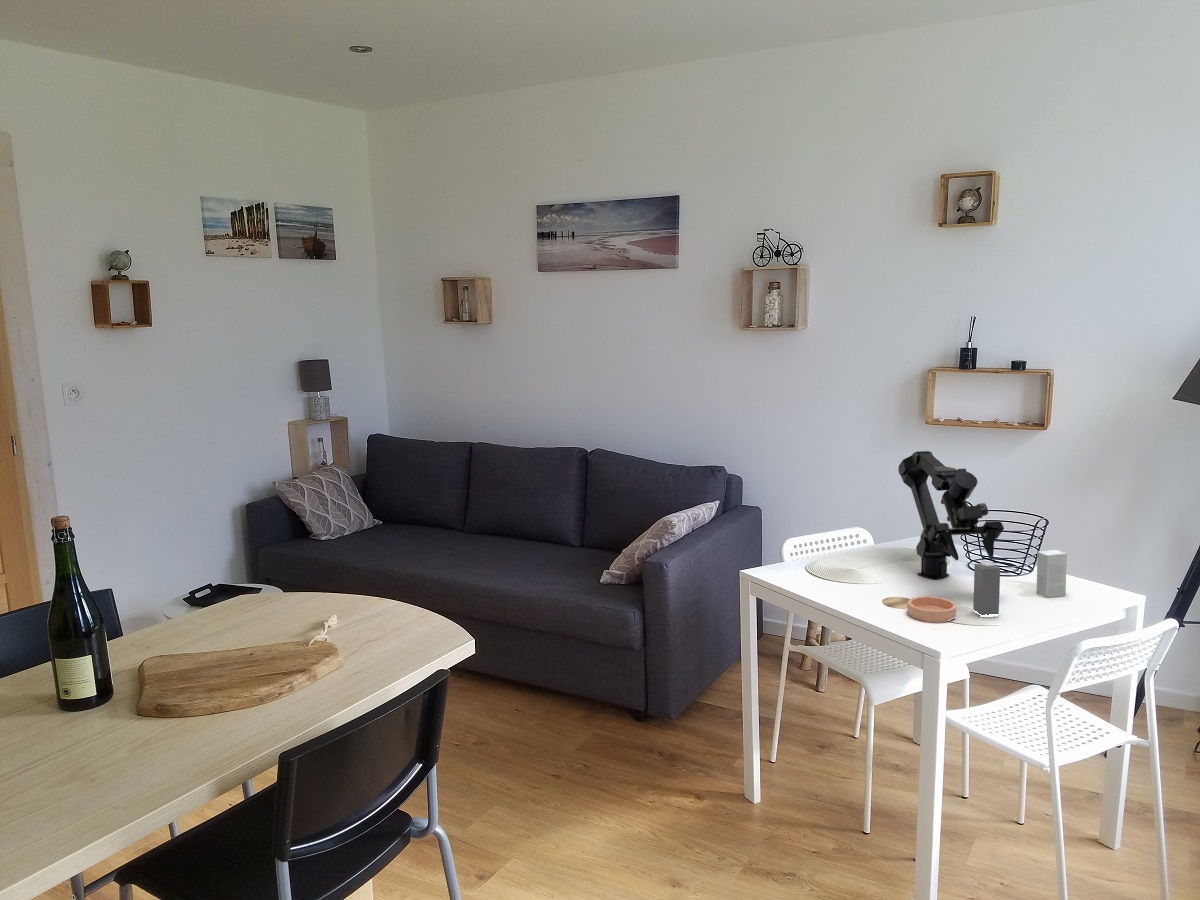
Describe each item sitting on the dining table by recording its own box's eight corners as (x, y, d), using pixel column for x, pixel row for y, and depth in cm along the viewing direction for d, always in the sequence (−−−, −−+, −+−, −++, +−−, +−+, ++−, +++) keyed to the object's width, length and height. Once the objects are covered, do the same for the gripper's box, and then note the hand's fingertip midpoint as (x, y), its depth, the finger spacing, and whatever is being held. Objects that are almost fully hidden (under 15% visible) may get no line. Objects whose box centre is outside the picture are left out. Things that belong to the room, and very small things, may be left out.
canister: (973, 611, 223) (974, 560, 221) (990, 611, 223) (991, 559, 221) (981, 617, 219) (982, 565, 217) (998, 617, 219) (1000, 564, 217)
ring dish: (898, 613, 224) (898, 602, 224) (927, 604, 230) (927, 593, 230) (936, 626, 214) (936, 614, 214) (965, 616, 220) (965, 605, 220)
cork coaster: (876, 605, 232) (876, 603, 232) (891, 596, 239) (891, 594, 238) (908, 612, 226) (908, 610, 226) (922, 603, 232) (922, 601, 232)
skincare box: (1055, 591, 237) (1056, 549, 235) (1065, 596, 233) (1067, 553, 231) (1035, 593, 236) (1036, 551, 234) (1045, 598, 232) (1047, 555, 230)
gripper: (932, 494, 229) (949, 545, 220) (1001, 491, 229) (1021, 541, 220) (920, 516, 238) (936, 566, 229) (987, 513, 238) (1005, 563, 229)
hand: (974, 558), depth 226 cm, fingers open, 9 cm apart
